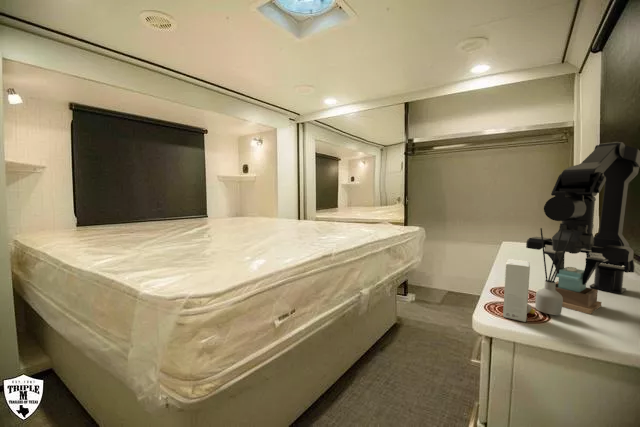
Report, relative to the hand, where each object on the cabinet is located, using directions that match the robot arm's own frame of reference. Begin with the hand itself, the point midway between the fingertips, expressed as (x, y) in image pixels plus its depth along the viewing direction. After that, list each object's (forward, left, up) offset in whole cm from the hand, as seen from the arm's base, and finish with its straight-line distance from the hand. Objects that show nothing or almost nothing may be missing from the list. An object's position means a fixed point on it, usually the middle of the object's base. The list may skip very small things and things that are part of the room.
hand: (572, 282), depth 69 cm
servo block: (0, 0, -2) cm, 2 cm away
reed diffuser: (+14, 0, -6) cm, 15 cm away
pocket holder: (0, 0, -6) cm, 6 cm away
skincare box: (+20, -4, -6) cm, 21 cm away
